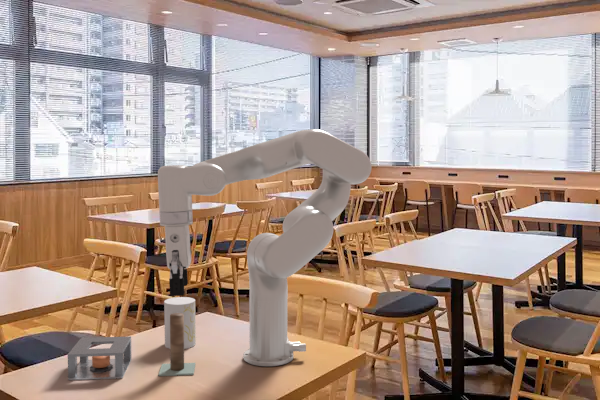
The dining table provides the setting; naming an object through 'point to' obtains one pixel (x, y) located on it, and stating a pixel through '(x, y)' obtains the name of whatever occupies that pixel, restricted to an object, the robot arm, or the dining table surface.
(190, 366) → the mat
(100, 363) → the breaker plunger
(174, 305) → the cup
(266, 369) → the dining table surface
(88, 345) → the guard cage
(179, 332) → the brown wooden rod
